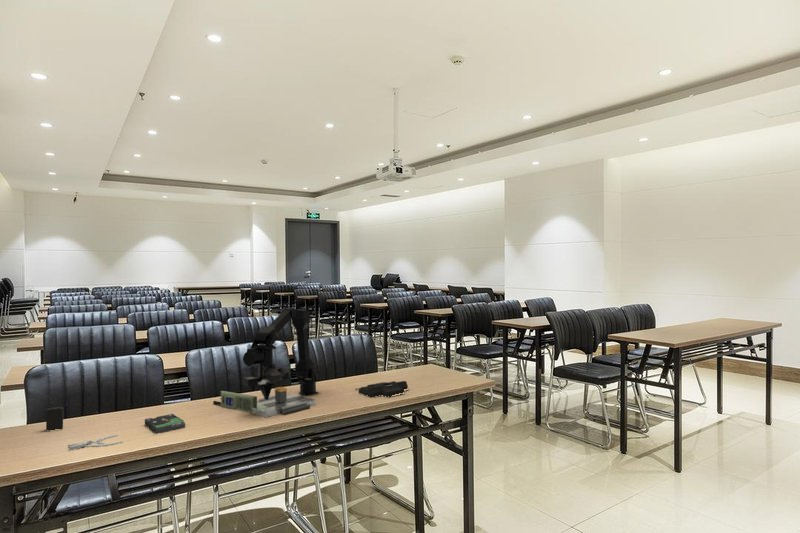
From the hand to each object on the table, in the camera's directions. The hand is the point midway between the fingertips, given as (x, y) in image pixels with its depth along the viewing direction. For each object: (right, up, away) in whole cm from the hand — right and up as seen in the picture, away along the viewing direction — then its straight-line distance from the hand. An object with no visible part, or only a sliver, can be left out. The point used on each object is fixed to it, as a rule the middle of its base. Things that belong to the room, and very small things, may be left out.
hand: (266, 399), depth 200 cm
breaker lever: (+5, -2, +5) cm, 7 cm away
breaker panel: (+5, -5, +5) cm, 8 cm away
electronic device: (+44, -5, +32) cm, 55 cm away
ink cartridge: (-73, -6, -20) cm, 76 cm away
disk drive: (-33, -6, -18) cm, 38 cm away
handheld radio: (-15, -6, +5) cm, 17 cm away
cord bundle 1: (+12, -4, -1) cm, 13 cm away
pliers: (-48, -6, -36) cm, 60 cm away
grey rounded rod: (-1, -5, +12) cm, 13 cm away
